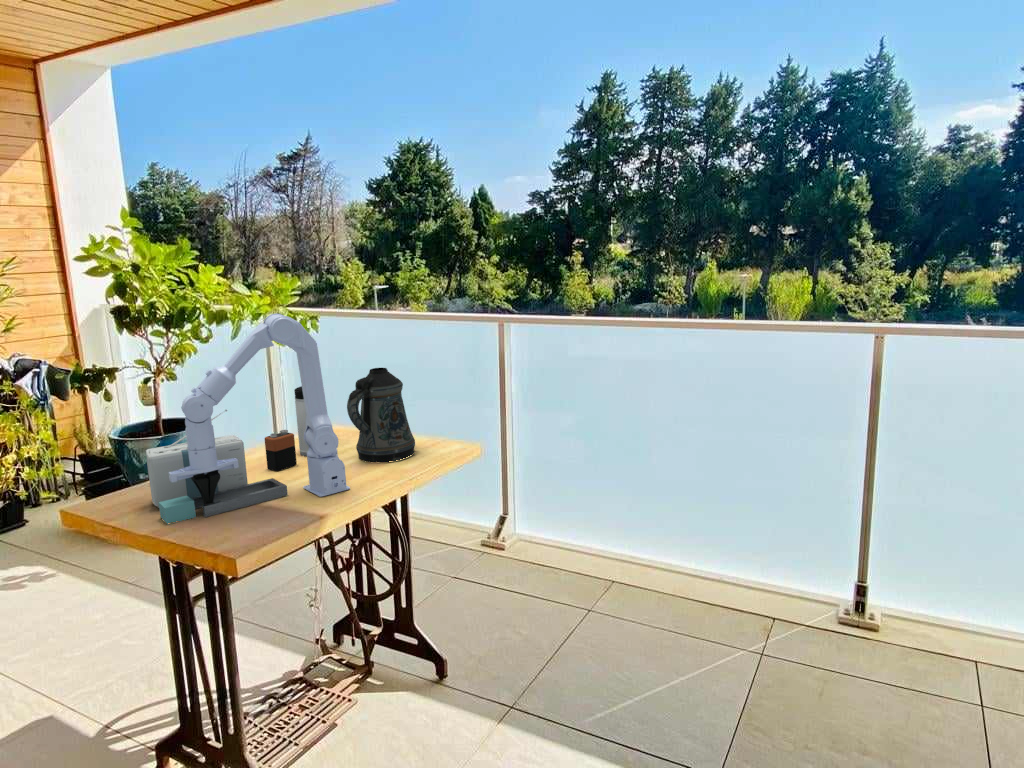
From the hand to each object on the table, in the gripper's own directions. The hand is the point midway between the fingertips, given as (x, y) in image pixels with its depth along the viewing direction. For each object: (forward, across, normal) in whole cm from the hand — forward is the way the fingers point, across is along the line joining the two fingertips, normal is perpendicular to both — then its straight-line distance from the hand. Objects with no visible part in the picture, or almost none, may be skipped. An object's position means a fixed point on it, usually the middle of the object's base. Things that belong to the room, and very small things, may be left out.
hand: (208, 504), depth 159 cm
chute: (+1, -7, 0) cm, 7 cm away
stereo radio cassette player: (+2, -2, -11) cm, 11 cm away
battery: (+2, -26, -19) cm, 32 cm away
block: (+2, +7, 0) cm, 7 cm away
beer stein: (+2, -51, -7) cm, 51 cm away
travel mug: (+2, -38, -26) cm, 46 cm away
